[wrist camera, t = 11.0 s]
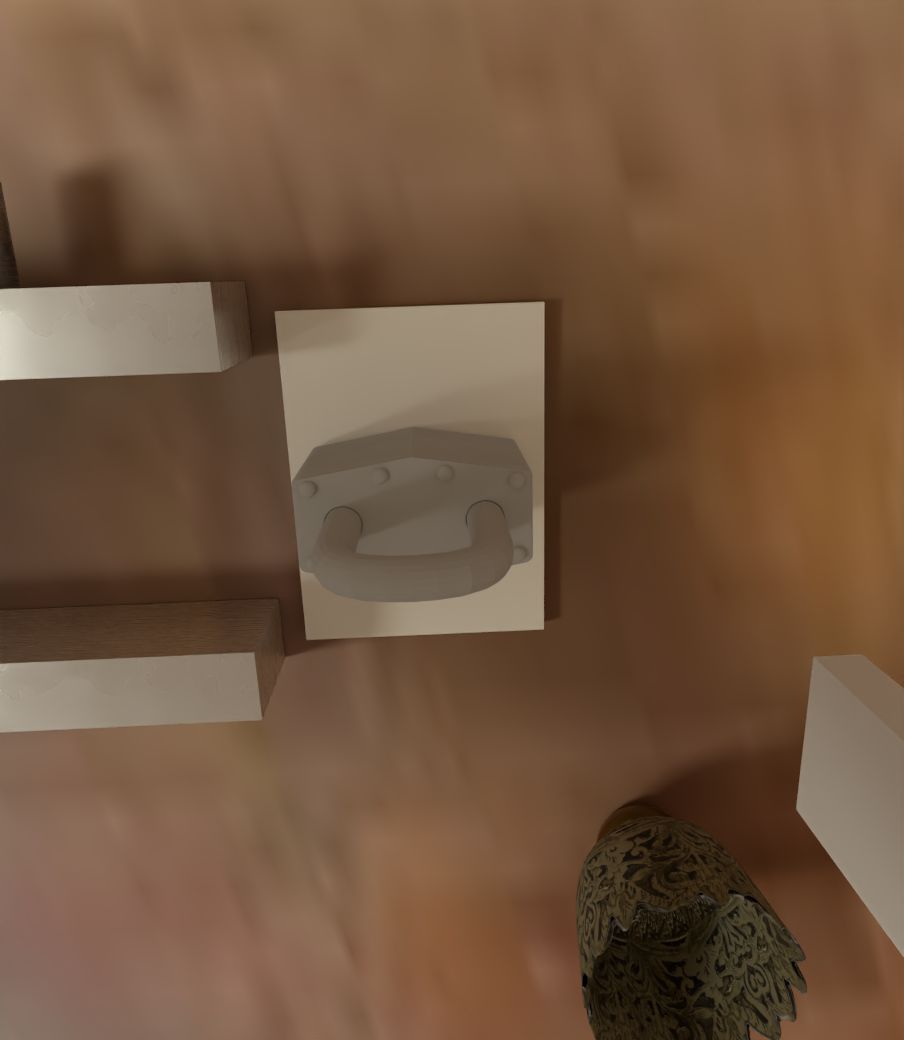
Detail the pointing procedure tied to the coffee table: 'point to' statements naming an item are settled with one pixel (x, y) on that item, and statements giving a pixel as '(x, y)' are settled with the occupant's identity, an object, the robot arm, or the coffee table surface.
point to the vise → (140, 627)
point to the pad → (422, 404)
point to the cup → (678, 937)
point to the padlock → (413, 514)
